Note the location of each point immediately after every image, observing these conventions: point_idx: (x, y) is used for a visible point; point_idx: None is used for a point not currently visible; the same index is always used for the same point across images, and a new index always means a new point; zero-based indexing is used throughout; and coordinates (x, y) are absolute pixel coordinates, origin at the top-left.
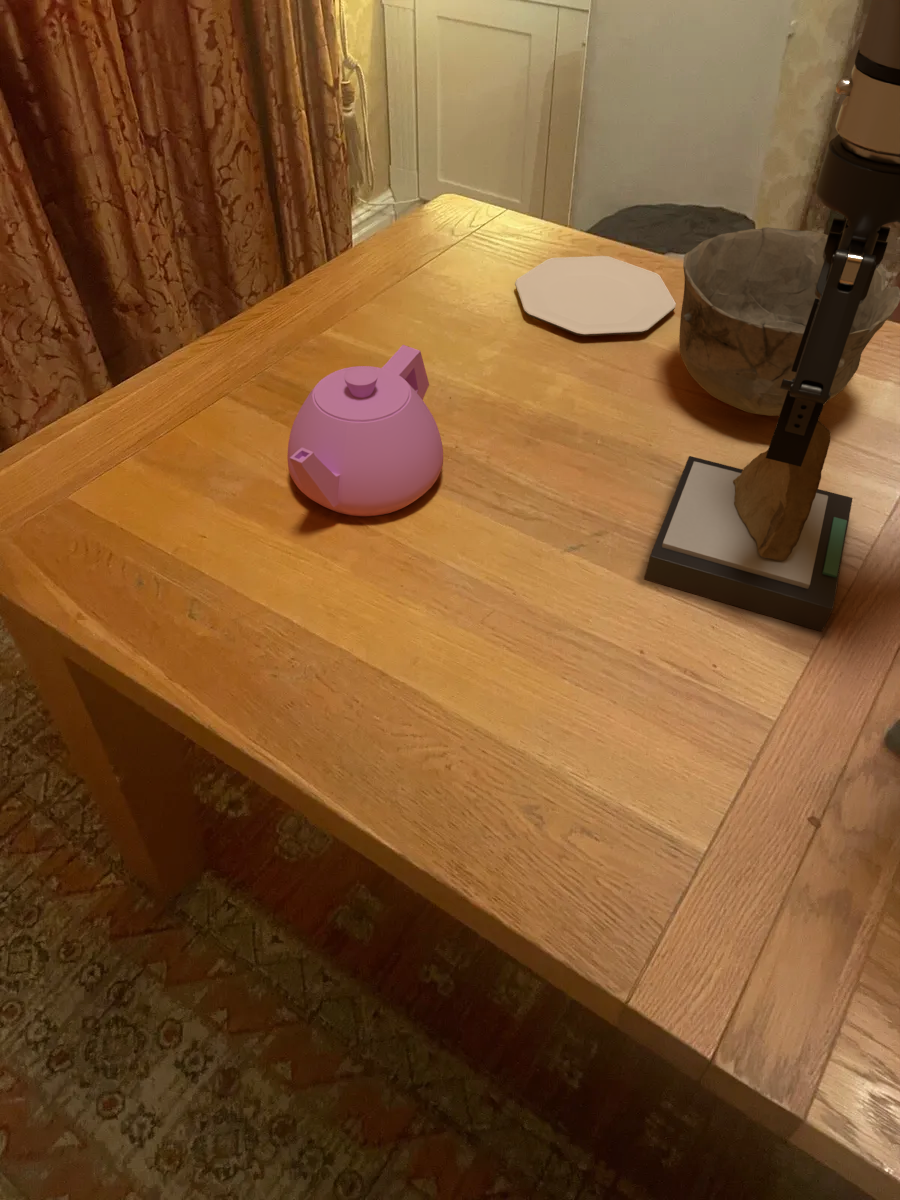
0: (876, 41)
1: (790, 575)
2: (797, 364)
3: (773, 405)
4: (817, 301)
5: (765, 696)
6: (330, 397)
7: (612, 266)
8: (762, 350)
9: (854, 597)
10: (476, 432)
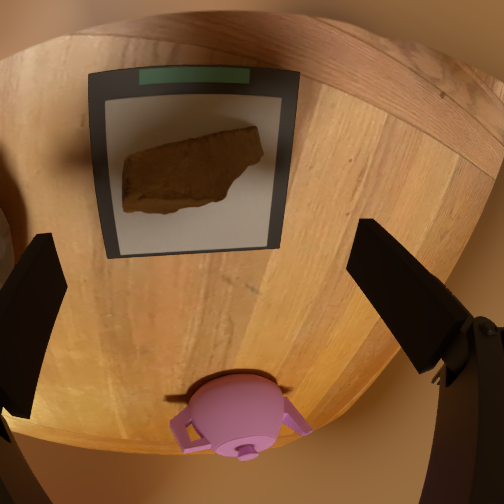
0: None
1: (274, 119)
2: (60, 291)
3: (1, 216)
4: (19, 414)
5: (369, 119)
6: (257, 449)
7: None
8: None
9: (224, 42)
10: (156, 375)
